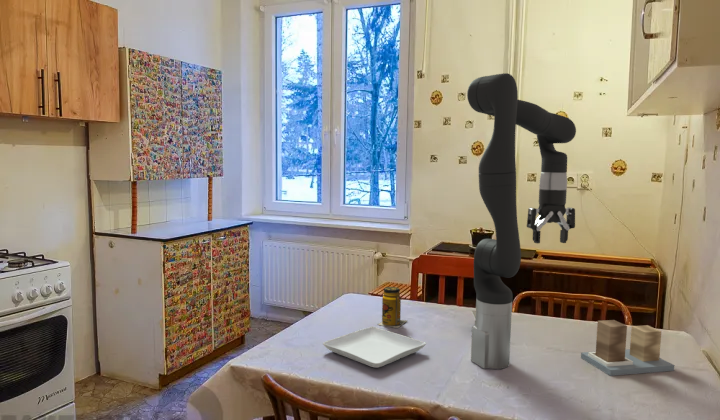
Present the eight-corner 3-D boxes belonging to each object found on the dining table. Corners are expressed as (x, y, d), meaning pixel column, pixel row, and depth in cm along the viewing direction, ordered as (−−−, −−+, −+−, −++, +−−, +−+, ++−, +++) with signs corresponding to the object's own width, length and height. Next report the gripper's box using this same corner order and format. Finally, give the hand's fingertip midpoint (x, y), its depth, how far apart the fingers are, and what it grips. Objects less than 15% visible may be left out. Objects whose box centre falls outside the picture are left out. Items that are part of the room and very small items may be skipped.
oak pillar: (643, 361, 136) (645, 332, 135) (629, 354, 141) (631, 326, 140) (659, 360, 137) (661, 331, 136) (645, 353, 142) (647, 325, 141)
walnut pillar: (607, 363, 134) (610, 326, 133) (595, 356, 139) (597, 320, 138) (624, 362, 135) (627, 325, 134) (611, 355, 140) (614, 319, 139)
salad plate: (320, 353, 143) (320, 341, 143) (372, 335, 158) (372, 324, 158) (376, 376, 129) (376, 363, 128) (427, 354, 144) (427, 342, 143)
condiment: (377, 325, 168) (377, 289, 166) (387, 318, 175) (388, 283, 174) (397, 328, 164) (398, 292, 163) (407, 321, 172) (408, 286, 170)
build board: (610, 375, 130) (610, 367, 130) (580, 357, 142) (581, 349, 142) (674, 370, 134) (674, 362, 134) (640, 353, 146) (641, 345, 145)
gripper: (537, 188, 144) (534, 245, 146) (582, 188, 147) (579, 244, 149) (524, 187, 152) (521, 241, 153) (567, 187, 155) (564, 240, 156)
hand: (550, 242), depth 151 cm, fingers open, 8 cm apart
